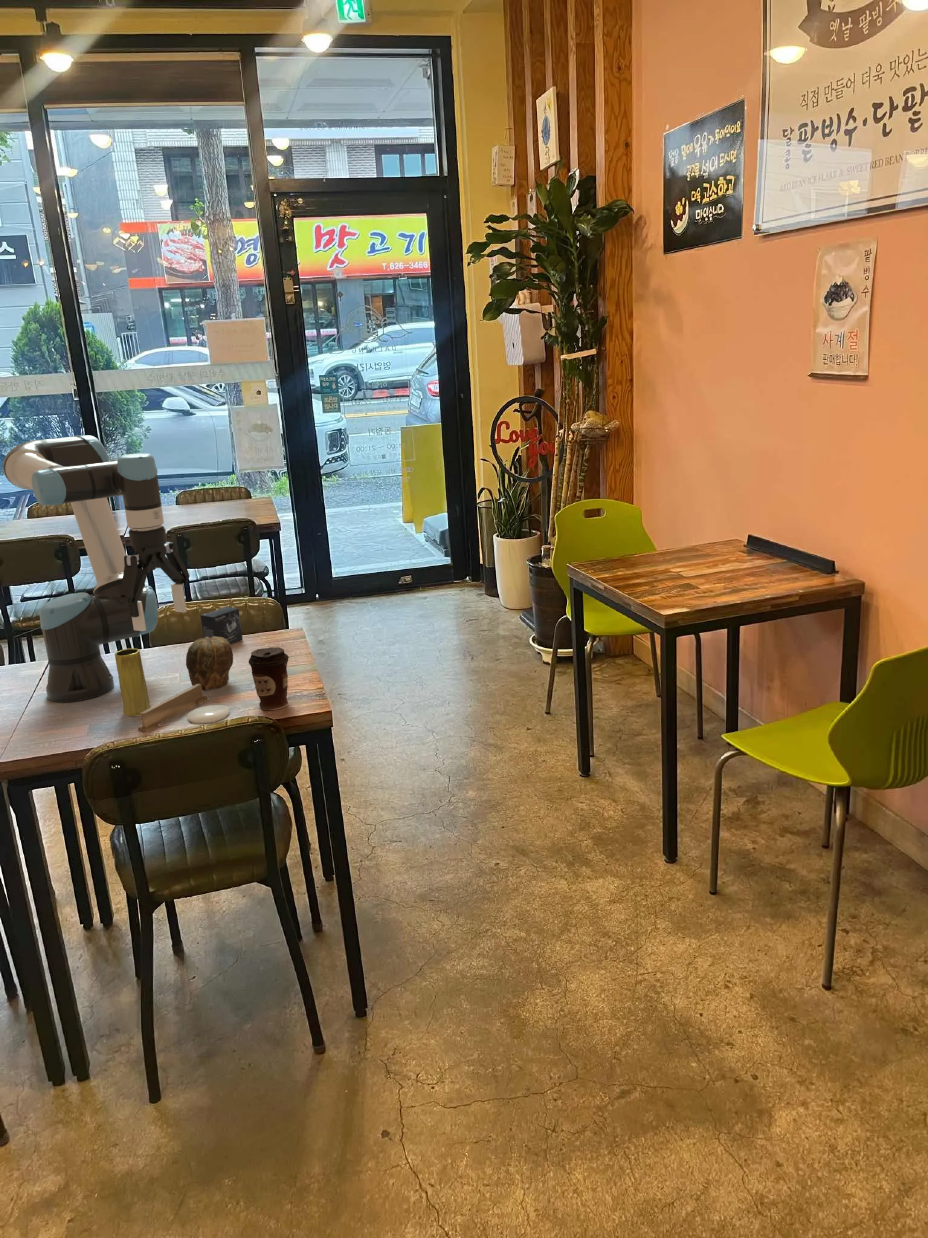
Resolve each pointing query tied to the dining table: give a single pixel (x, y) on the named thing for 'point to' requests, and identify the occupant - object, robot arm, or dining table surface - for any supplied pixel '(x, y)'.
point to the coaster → (208, 714)
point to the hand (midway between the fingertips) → (161, 620)
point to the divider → (171, 707)
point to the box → (222, 624)
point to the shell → (209, 662)
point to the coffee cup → (270, 677)
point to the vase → (132, 682)
